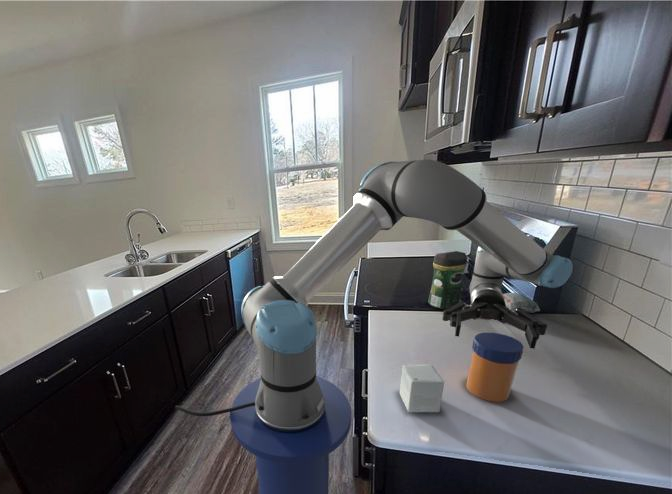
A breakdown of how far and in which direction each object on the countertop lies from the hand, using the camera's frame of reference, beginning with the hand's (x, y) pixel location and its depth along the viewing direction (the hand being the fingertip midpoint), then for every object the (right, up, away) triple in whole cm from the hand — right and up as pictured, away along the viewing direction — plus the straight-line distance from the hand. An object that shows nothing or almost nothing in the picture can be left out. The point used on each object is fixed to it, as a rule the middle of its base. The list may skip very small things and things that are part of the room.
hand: (494, 336), depth 68 cm
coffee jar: (+11, +6, +41) cm, 43 cm away
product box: (-18, -13, -3) cm, 23 cm away
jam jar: (-2, -11, -1) cm, 11 cm away
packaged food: (+30, +5, +34) cm, 46 cm away
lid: (-3, -1, -5) cm, 6 cm away
